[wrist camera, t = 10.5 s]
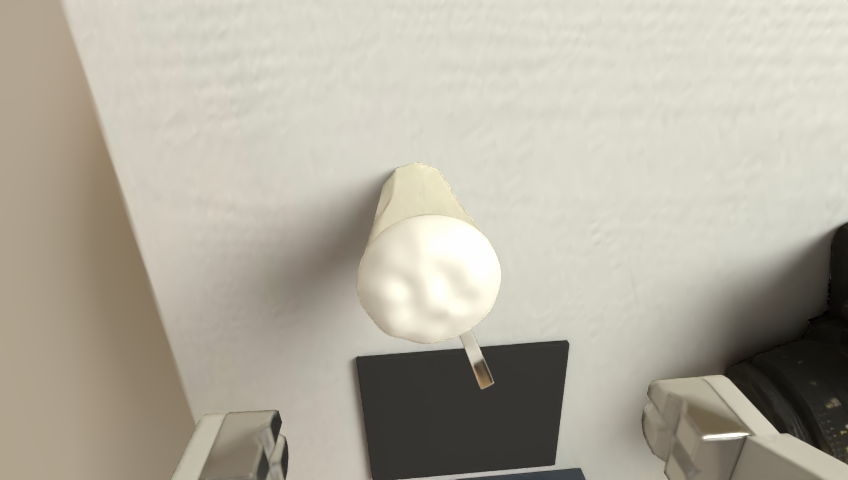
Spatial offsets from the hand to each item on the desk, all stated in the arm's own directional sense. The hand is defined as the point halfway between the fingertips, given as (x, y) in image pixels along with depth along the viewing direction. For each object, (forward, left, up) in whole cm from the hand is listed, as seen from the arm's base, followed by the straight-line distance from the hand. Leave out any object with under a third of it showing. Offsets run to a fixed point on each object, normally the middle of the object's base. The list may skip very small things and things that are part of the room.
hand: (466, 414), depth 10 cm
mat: (+2, -14, -13) cm, 19 cm away
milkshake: (0, 0, -13) cm, 13 cm away
